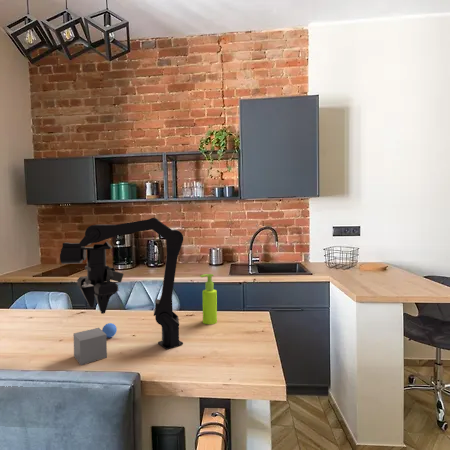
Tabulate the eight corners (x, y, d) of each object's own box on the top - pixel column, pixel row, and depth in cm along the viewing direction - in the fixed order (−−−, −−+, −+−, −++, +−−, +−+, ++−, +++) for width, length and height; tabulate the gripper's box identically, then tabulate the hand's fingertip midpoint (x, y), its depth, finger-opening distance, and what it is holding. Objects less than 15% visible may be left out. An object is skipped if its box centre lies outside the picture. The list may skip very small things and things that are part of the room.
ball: (118, 337, 111) (118, 323, 111) (104, 341, 108) (104, 327, 107) (114, 333, 115) (113, 320, 115) (100, 336, 111) (100, 323, 111)
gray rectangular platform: (106, 357, 95) (106, 334, 95) (80, 365, 90) (80, 341, 90) (99, 349, 101) (98, 327, 101) (74, 356, 96) (73, 333, 96)
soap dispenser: (198, 321, 127) (198, 273, 127) (213, 318, 130) (213, 272, 130) (203, 325, 122) (202, 276, 122) (219, 323, 125) (218, 274, 124)
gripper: (133, 263, 98) (133, 311, 99) (108, 257, 111) (108, 300, 112) (99, 267, 90) (99, 319, 91) (76, 261, 104) (77, 306, 104)
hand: (97, 310), depth 100 cm, fingers open, 9 cm apart
